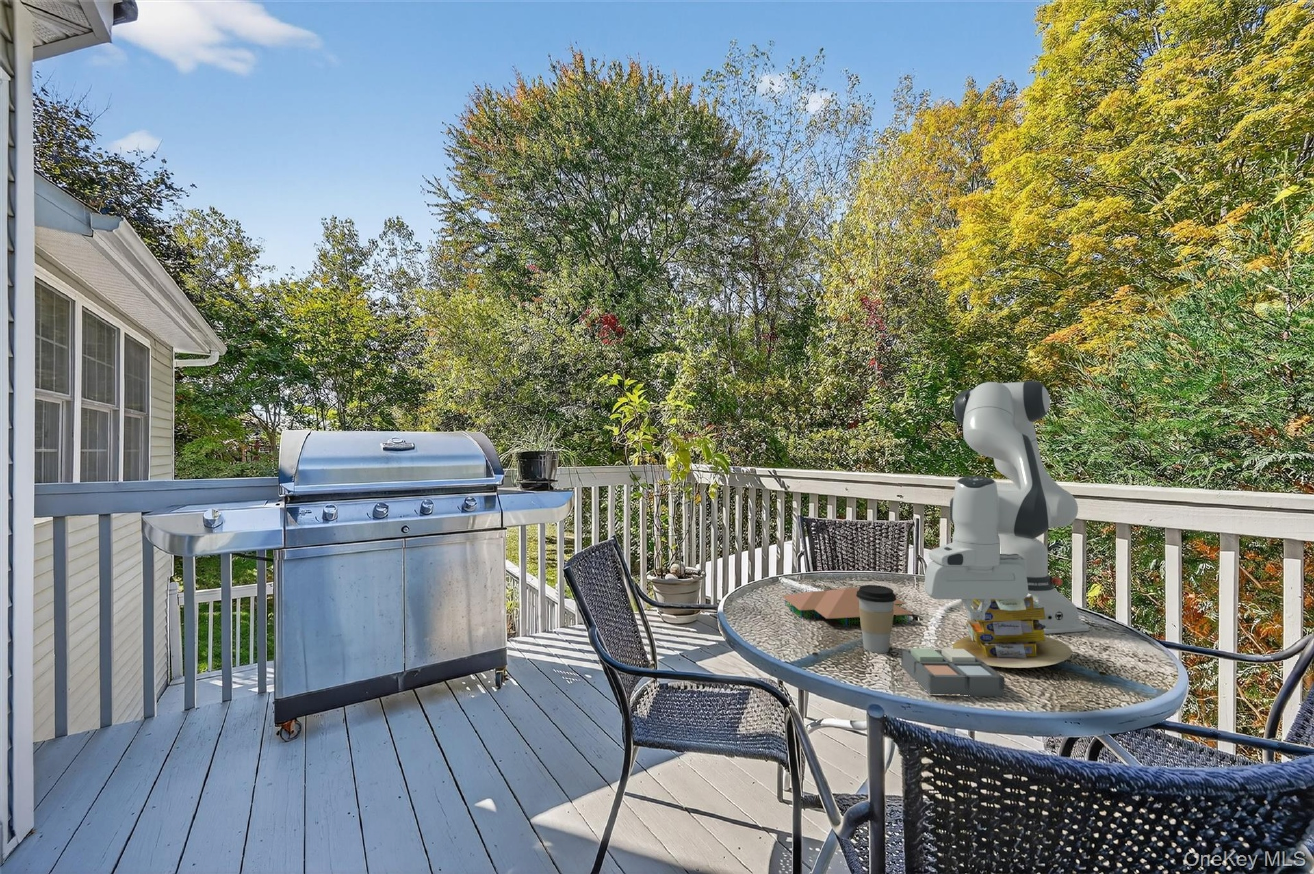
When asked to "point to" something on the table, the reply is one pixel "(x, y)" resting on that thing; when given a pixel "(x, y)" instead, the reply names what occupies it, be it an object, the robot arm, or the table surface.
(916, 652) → the key sage
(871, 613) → the coffee cup
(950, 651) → the key cream
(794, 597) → the house
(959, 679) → the keypad
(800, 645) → the table surface
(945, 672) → the key terracotta
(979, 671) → the key bluegrey
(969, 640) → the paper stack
